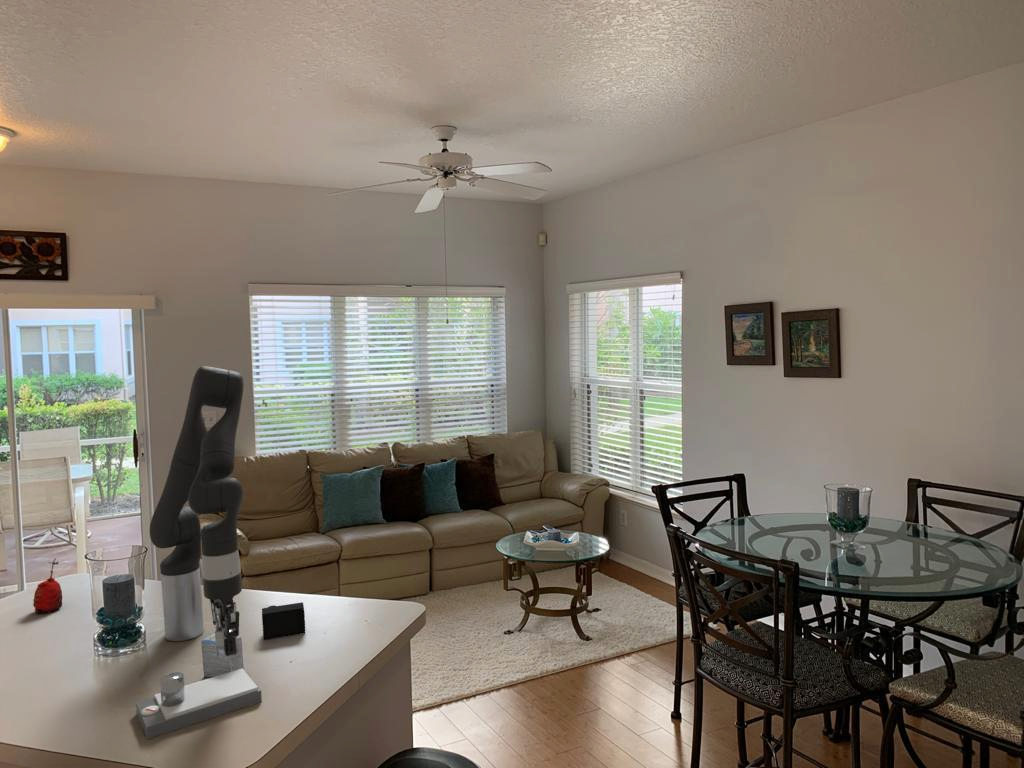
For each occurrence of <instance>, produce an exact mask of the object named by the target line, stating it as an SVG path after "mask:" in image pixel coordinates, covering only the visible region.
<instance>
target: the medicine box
mask: <svg viewBox="0 0 1024 768" xmlns="http://www.w3.org/2000/svg"><path fill="white" fill-rule="evenodd" d="M242 642H243V641H242V636H240V635H239V636H238V650H239V652H238V653H237V654H236V655H235V656H232V657H229V658H218V657H217V655H216V642H215V632H214V633H212V634H210V635H208V636H207V637H205V638H204V639H202V640H201V644H200V645H201V655H202V669H203V670H202V671H203V676H204V677H209V678H212V677H215V676H219V675H222V674H225V673H229V672H232V671H235V670H239V669H242V668H243V669H244V670H245V666H244V655H243V643H242Z"/></svg>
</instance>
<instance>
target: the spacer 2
mask: <svg viewBox="0 0 1024 768" xmlns="http://www.w3.org/2000/svg"><path fill="white" fill-rule="evenodd" d="M231 631H232V629H230V630H229V632H231ZM214 633H215V642H216V655H217V657H218V658H229V657H232V656H235V655H236V654H237V653H238V652H239V650H238V636H236V637H235V639H236V653H235V654H233V655H229V656H226V655H225V651H224V638H223V632H222V628H220V629H218V630H216V629H215V632H214Z"/></svg>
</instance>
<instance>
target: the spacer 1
mask: <svg viewBox="0 0 1024 768" xmlns="http://www.w3.org/2000/svg"><path fill="white" fill-rule="evenodd" d="M159 682H160V693H161V704H162V705H163V706H175V705H178V704H180V703H182V702H183V701H184V700H185V688H184V686H185V675H184V673H183V672H178V671H177V672H176V671H175V672H170V673H167V674H165V675H163V676H162V677H161V676H160V679H159Z"/></svg>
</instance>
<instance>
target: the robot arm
mask: <svg viewBox="0 0 1024 768" xmlns="http://www.w3.org/2000/svg"><path fill="white" fill-rule="evenodd" d="M243 394H244V378H243V375H242V374H241V373H240V372H238V371H235V370H234V371H233V370H230V369H229V370H228V369H224V368H219V367H214V366H208V365H207V366H205V365H203V366H202V365H201V366H200V367H198V368H197V370H196V372H195V374H194V376H193V380H192V383H191V388H190V393H189V396H188V401H187V406H186V410H185V415H184V420H183V423H182V428H181V429H180V433H179V436H178V439H177V442H176V445H175V447H174V448H175V449H174V452H173V455H172V459H171V462H170V466H169V472H168V474H167V477H166V478H167V479H166V481H165V483H164V487H163V490H162V493H161V495H160V497H159V500H158V502H157V505H156V507H155V509H154V512H153V514H152V517H151V520H150V523H149V524H150V525H149V538H150V541H151V543H152V544H153V546H154V547H155V548H158V549H169V548H172V547H174V549H173V550H172V551H171V553H169V554H168V555H167V556H166V557H165V558H164V559H161V561H160V565H159V570H160V582H161V597H162V611H163V621H164V622H163V623H164V635H165V637H164V638H165V639H166V640H167V641H170V642H182V641H187V640H191V639H194V638H195V639H196V638H197V637H199V636H200V635H202V634H203V633H204V632H205V629H204V628H205V627H204V612H203V611H204V610H203V596H204V598H206V599H208V600H209V601H210V608H211V615H212V617H211V618H212V623H213V626H214V628H215V631H216V630H218V629H220V628H222V632H223V638H224V651H225V655H226V656H229V655H233V654H235V653H236V639H235V637H236V636H240V611H239V610H237V609H238V607H237V603H236V602H234V597H235V596H237V595H239V594H240V593H241V592H242V591H243V585H242V572H241V571H242V570H241V558H240V554H239V548H238V521H239V519H238V518H239V514H240V509H241V505H242V501H243V496H244V488H243V485H242V483H241V482H240V481H239V480H238V479H237V478H235V477H230V476H231V475H232V474H233V473H234V470H235V461H236V459H235V455H236V454H235V453H236V452H235V451H236V449H235V446H236V436H237V430H238V425H239V420H240V414H241V408H242V402H243ZM204 406H206V407H213V408H219V409H225V411H224V413H223V415H222V416H221V417H220V419H219V420H218V421H217V422H216V423H214V424H213V426H211V428H209V429H208V427H206V424H205V421H204V417H203V412H202V410H203V409H202V408H203V407H204ZM187 502H188V503H187ZM186 503H187V504H188V506H185V505H186ZM219 513H225V516H224V518H221V519H220V520H218V521H214V522H211V523H208V524H206V525H204V526H203V527H201V521H200V517H199V515H208V514H219ZM201 528H202V529H201ZM201 557H202V558H201ZM200 561H201V570H200ZM201 572H202V574H201ZM201 575H202V579H201ZM201 580H202V583H201ZM201 584H202V585H201ZM202 586H203V589H202ZM202 590H203V595H202ZM230 629H232V631H231V632H229V630H230Z"/></svg>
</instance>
